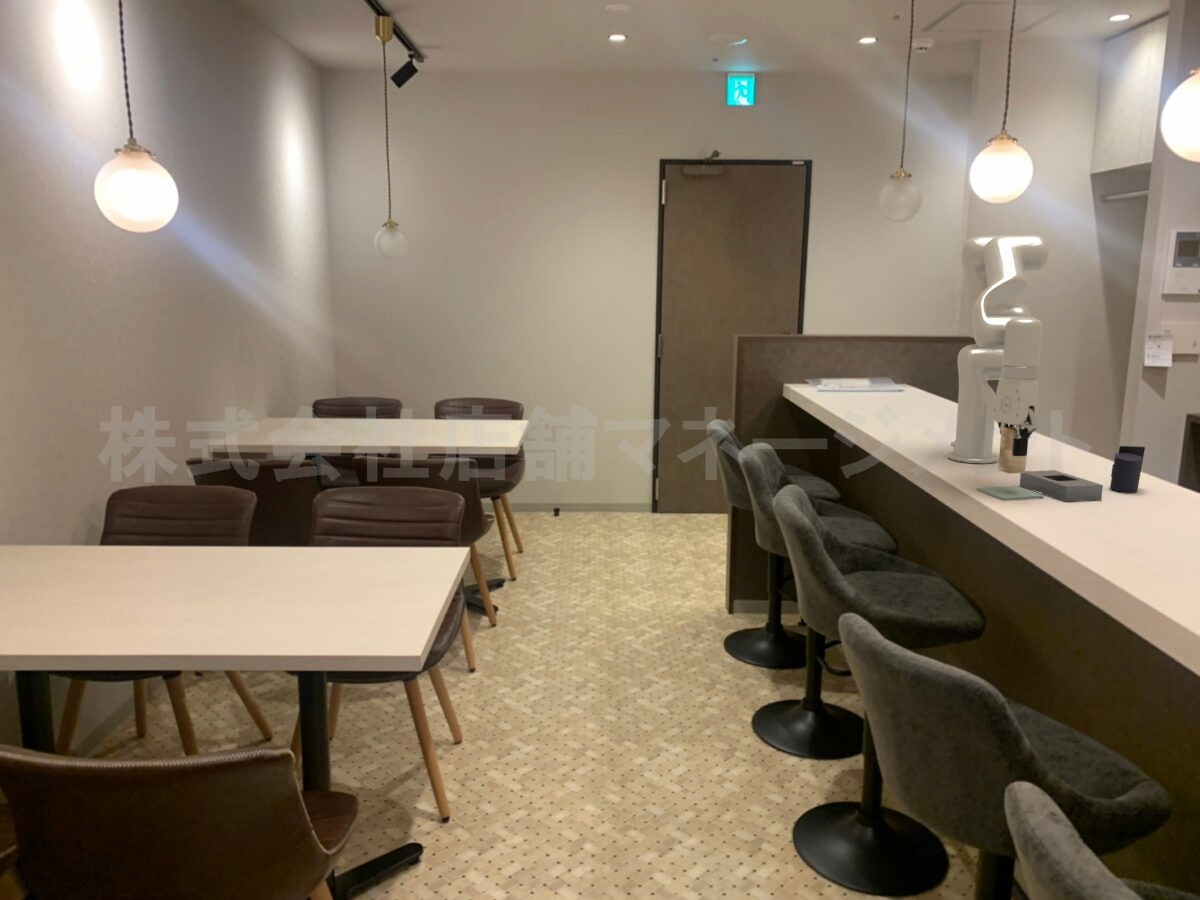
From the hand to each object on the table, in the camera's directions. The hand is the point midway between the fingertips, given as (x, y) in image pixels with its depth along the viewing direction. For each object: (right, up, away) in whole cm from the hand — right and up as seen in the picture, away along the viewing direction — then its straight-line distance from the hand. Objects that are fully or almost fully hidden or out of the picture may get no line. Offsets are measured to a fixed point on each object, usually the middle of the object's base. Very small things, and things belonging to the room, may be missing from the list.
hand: (1013, 453), depth 199 cm
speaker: (+29, -9, +5) cm, 31 cm away
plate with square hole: (+12, -9, +3) cm, 16 cm away
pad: (0, -10, +2) cm, 10 cm away
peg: (0, -4, +1) cm, 4 cm away
